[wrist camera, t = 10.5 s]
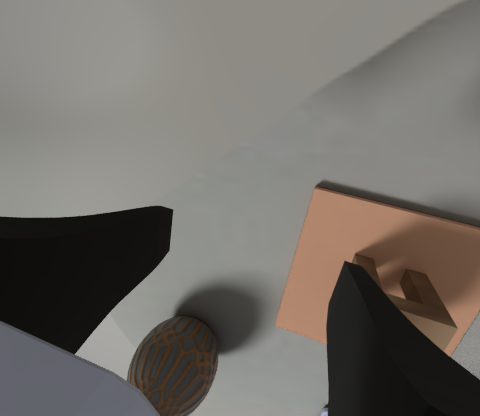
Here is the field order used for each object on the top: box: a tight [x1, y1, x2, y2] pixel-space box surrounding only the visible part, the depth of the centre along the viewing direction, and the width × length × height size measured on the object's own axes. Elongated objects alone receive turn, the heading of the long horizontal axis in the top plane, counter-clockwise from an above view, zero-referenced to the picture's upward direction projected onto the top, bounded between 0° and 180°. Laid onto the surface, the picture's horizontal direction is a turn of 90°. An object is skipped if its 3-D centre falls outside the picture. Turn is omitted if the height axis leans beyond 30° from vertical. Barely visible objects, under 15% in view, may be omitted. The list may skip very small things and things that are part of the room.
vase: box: [127, 316, 218, 416], centre depth 23 cm, size 7×7×9 cm
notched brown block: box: [351, 254, 458, 351], centre depth 17 cm, size 4×4×5 cm
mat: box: [275, 186, 480, 356], centre depth 20 cm, size 12×12×1 cm
